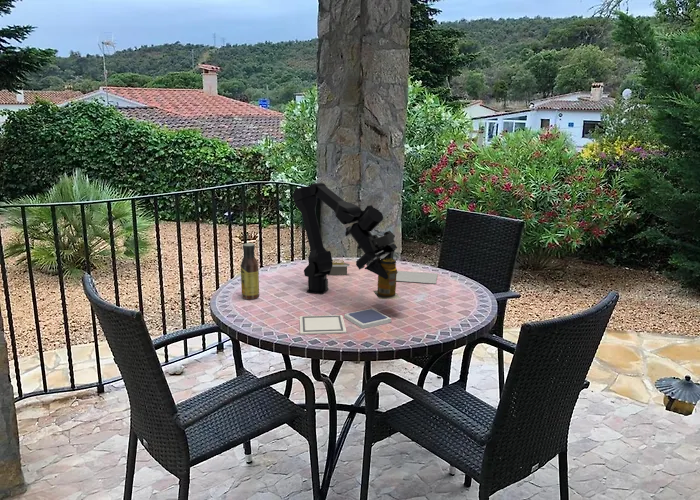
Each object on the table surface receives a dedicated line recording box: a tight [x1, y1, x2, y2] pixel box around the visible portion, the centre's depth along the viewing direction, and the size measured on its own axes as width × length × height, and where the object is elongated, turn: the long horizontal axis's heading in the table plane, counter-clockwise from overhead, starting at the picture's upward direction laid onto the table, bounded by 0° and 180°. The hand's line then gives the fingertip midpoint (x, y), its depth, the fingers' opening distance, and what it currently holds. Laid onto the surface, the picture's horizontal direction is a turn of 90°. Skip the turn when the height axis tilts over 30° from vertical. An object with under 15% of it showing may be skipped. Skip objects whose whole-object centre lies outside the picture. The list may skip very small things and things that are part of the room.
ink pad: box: [343, 308, 392, 330], centre depth 178 cm, size 11×11×2 cm
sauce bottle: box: [240, 242, 260, 300], centre depth 196 cm, size 6×6×20 cm
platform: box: [327, 259, 351, 276], centre depth 226 cm, size 12×18×7 cm, turn 93°
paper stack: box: [396, 270, 438, 284], centre depth 220 cm, size 23×25×1 cm
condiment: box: [373, 258, 402, 300], centre depth 181 cm, size 7×8×12 cm
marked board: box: [299, 314, 347, 336], centre depth 173 cm, size 14×14×1 cm
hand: (392, 276), depth 181 cm, fingers closed on condiment, 6 cm apart
